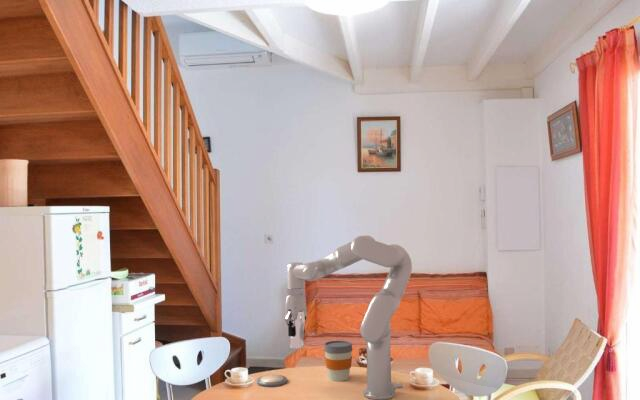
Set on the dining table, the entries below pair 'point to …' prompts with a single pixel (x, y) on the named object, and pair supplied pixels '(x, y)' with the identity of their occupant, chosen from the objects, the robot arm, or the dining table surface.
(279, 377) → the coaster plate
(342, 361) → the reusable coffee cup
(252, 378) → the dining table surface
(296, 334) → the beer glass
